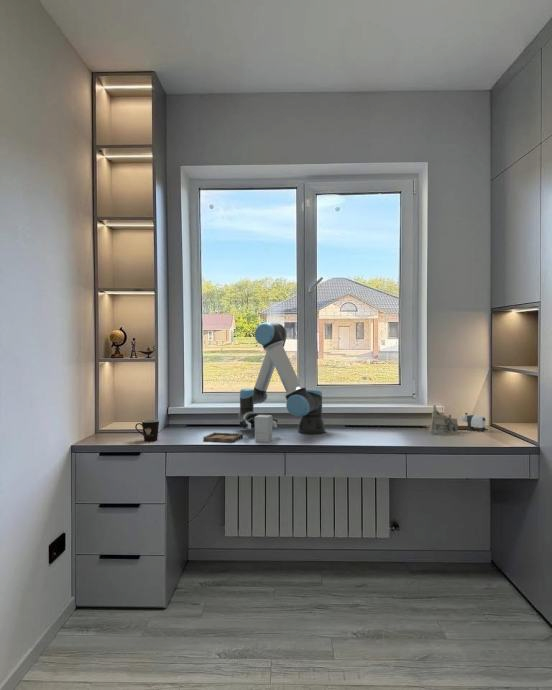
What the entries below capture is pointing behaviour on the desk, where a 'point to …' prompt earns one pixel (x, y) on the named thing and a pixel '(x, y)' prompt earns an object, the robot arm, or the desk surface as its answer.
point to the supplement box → (263, 428)
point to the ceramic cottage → (442, 424)
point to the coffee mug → (149, 430)
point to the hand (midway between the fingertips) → (263, 425)
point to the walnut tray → (222, 437)
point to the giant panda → (474, 421)
